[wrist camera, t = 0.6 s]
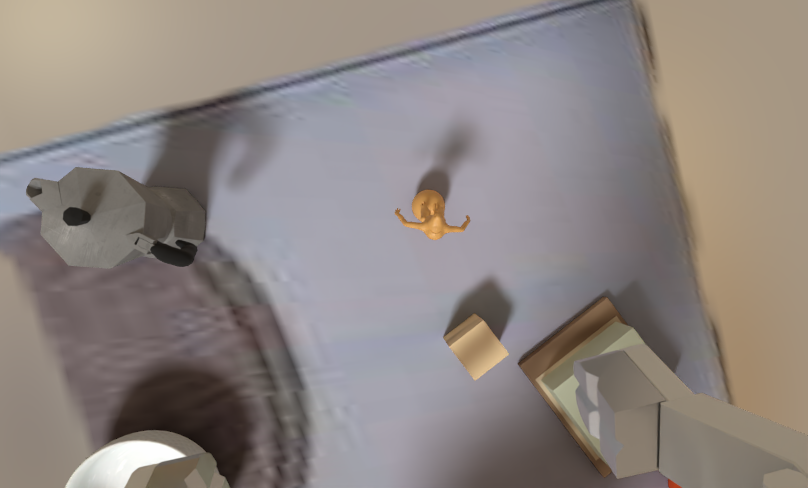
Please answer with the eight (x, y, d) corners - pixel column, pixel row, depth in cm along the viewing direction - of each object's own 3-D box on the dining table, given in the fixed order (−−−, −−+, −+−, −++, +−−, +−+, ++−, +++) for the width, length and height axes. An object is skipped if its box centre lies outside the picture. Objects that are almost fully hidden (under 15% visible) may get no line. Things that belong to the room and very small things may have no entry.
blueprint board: (684, 406, 60) (690, 409, 59) (600, 473, 59) (604, 478, 58) (603, 296, 59) (607, 297, 58) (517, 363, 59) (520, 366, 58)
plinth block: (670, 396, 59) (692, 407, 55) (596, 454, 58) (613, 470, 54) (615, 321, 58) (633, 327, 54) (540, 380, 58) (552, 390, 54)
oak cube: (497, 344, 59) (509, 354, 54) (466, 368, 58) (475, 380, 53) (474, 313, 58) (483, 320, 53) (442, 337, 58) (449, 346, 53)
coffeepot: (100, 233, 56) (-32, 230, 38) (136, 163, 56) (22, 127, 38) (217, 290, 56) (143, 315, 38) (253, 221, 57) (195, 214, 39)
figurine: (461, 194, 58) (482, 183, 46) (456, 242, 58) (477, 243, 46) (395, 188, 57) (399, 174, 46) (390, 236, 58) (394, 235, 46)
